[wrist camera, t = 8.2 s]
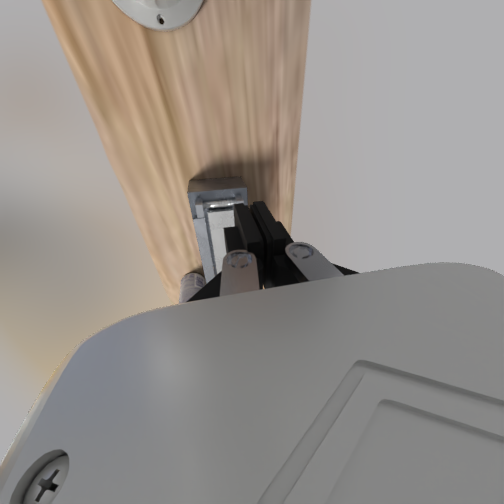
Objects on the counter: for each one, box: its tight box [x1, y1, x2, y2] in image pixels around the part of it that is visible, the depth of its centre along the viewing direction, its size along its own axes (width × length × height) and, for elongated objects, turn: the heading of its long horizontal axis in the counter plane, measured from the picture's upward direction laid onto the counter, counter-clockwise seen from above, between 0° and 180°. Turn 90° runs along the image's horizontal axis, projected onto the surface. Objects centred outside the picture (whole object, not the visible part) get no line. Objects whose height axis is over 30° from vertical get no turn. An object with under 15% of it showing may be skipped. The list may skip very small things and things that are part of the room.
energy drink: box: [179, 273, 205, 304], centre depth 44 cm, size 5×5×12 cm
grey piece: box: [187, 176, 248, 284], centre depth 39 cm, size 22×9×9 cm, turn 2°
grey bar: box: [208, 208, 235, 274], centre depth 37 cm, size 16×4×1 cm, turn 2°
